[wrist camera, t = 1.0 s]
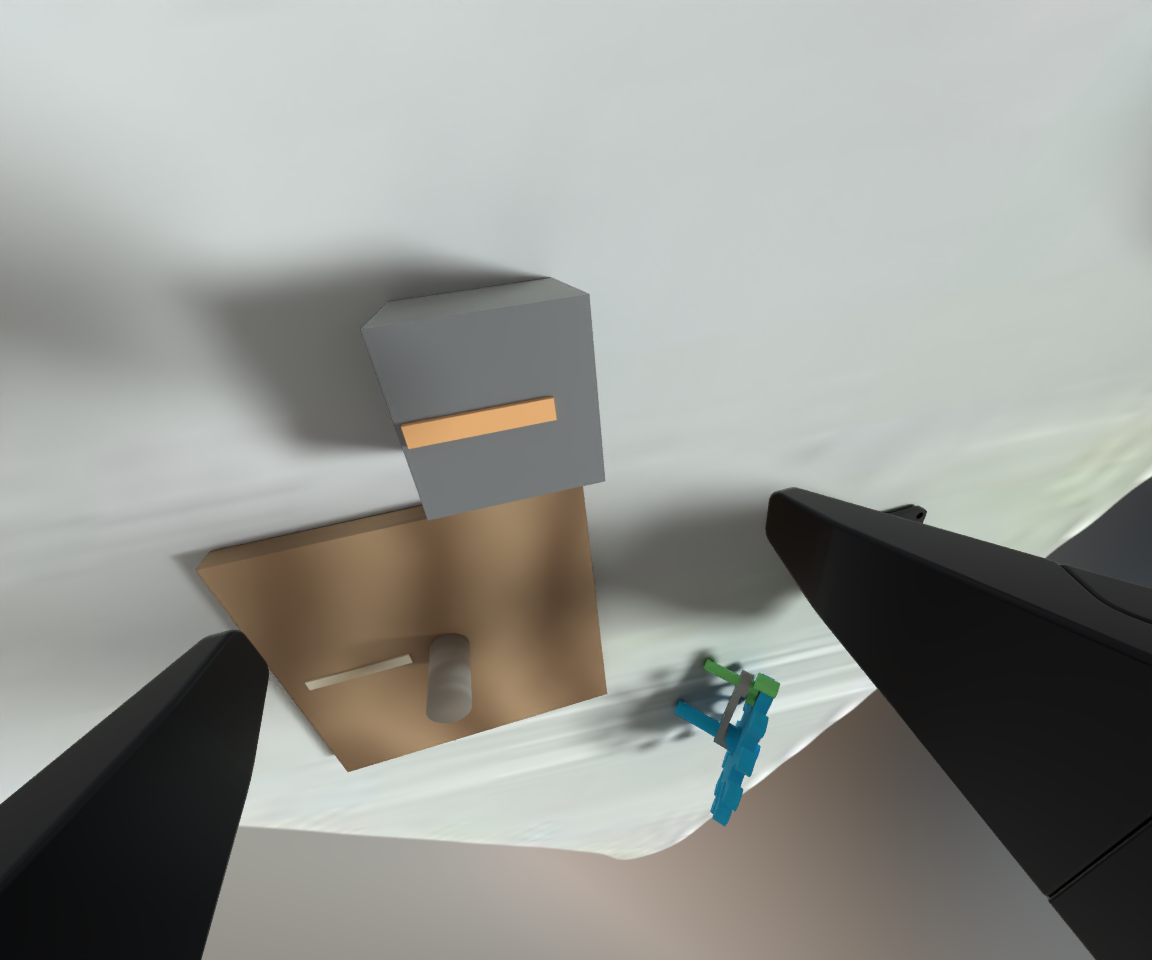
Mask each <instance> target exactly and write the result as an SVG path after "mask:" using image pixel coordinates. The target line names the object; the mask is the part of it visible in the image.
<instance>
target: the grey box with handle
mask: <svg viewBox="0 0 1152 960" xmlns="http://www.w3.org/2000/svg"><path fill="white" fill-rule="evenodd" d="M360 330H361V333H362V336H363V338H364V341H365V344H366V347H367V350H368V353H369V355H370V358H371V361H372V364H373V367H374V370H375V372H376V375H377V378H378V381H379V384H380V386H381V389H382V392H383V395H384V398H385V401H386V403H387V406H388V409H389V412H390V415H391V418H392V420H393V423H394V426H395V429H396V432H397V435H398V437H399V440H400V443H401V446H402V449H403V452H404V454H405V457H406V460H407V463H408V466H409V468H410V471H411V474H412V477H413V480H414V483H415V485H416V488H417V491H418V494H419V497H420V500H421V502H422V505H423V508H424V511H425V514H426V517H427V519H428V520H433V519H437V518H442V517H446V516H451V515H455V514H460V513H464V512H469V511H473V510H478V509H482V508H487V507H491V506H495V505H500V504H504V503H509V502H513V501H518V500H522V499H527V498H531V497H536V496H540V495H545V494H549V493H554V492H558V491H563V490H567V489H572V488H576V487H581V486H585V485H589V484H594V483H598V482H603V481H605V473H604V461H603V450H602V438H601V426H600V414H599V402H598V391H597V379H596V367H595V355H594V344H593V332H592V320H591V308H590V297H589V294H588V293H586V292H583V291H581V290H579V289H577V288H574V287H572V286H570V285H568V284H565V283H563V282H561V281H559V280H556V279H554V278H546V279H539V280H532V281H526V282H519V283H512V284H505V285H498V286H491V287H484V288H477V289H471V290H464V291H457V292H450V293H443V294H436V295H429V296H423V297H416V298H409V299H402V300H395V301H388V302H387V303H386V304H385V305H384V306H383V307H382V308H381V309H380V310H379V311H378V312H377V313H376V314H375V315H374V316H373V317H372V318H371V319H370V320H369V321H368V322H367V323H366V324H365V325H364V326H363V327H362V328H361V329H360Z"/></svg>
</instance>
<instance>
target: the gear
mask: <svg viewBox="0 0 1152 960" xmlns="http://www.w3.org/2000/svg"><path fill="white" fill-rule="evenodd" d="M703 669H705V670H707V671H709V672H711V673H713V674H714V675H716V676H718V677H720V678H722V679H724V680H726V681H728V682H730V683H731V684H733V685H735V689H734V691H733V693H732V696H731V698H730V700H729V703H728V705H727V707H726V710H725V712H724V714H723V717H722V719H721V721H720V723H719V722H718V721H716V720H714V719H712V718H711V717H709V716H707V715H705V714H704V713H702V712H700V711H698V710H697V709H695V708H693V707H691V706H690V705H688V704H686V703H684V702H683V701H681V700H679V703H678V705H677V708H676V710H675V714H677V715H678V716H680V717H682V718H683V719H685V720H687V721H688V722H690V723H692V724H694V725H695V726H697V727H699V728H700V729H702V730H704V731H705V732H707V733H709V734H711V735H712V736H714V742H715V743H717V744H719V745H720V746H722V747H724V748H725V749H727V752H726V754H725V757H724V761H723V764H722V767H723V771H722V773H721V775H720V777H719V779H718V782H717V784H716V788H715V792H714V795H715V796H716V797H715V799H714V802H713V805H712V808H711V813H712V814H713V819H714V820H716V821H717V822H719V823H720V824H722V825H723V826H726V824H727V823H728V821H729V819H730V816H731V812H732V810H734V811H736V809H737V807H738V805H739V802H740V799H741V797H742V793H743V789H742V788H741V784H742V781H743V778H744V775H747V776H748V777H750V776H751V774H752V771H753V768H754V765H755V762H756V759H757V757H758V754H759V751H760V745H758V742H759V741H760V739H761V738H763V736H764V734H765V732H766V728H767V724H768V718H769V717H767V716H766V714H767V711H768V709H769V707H770V705H771V703H772V701H773V698H775V697H776V695H777V693H778V690H779V686H780V683H778V682H777V681H775V680H774V679H772V678H770V677H768V676H766V675H764V674H761V673H759V674H758V676H757V678H756V680H755V681H754V680H752V679H753V675H752V674H750V673H748V672H746V671H744V670H742V672H741V675H738V674H736V673H734V672H732V671H730V670H728V669H726V668H724V667H722V666H720V665H718V664H717V663H715V662H713V661H711V660H709V659H707V661H706V663H705V666H704V668H703ZM746 695H747V697H746ZM740 697H743V698H745V697H746V700H745V704H744V707H743V711H744V714H743V716H742V719H741V721H737V723H736V726H734V725H732V724H730V723H729V722H730V720H731V718H732V715H733V713H734V711H735V709H736V706H737V704H738V702H739V699H740Z"/></svg>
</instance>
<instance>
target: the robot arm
mask: <svg viewBox="0 0 1152 960" xmlns="http://www.w3.org/2000/svg"><path fill="white" fill-rule="evenodd" d="M926 513H927V511H926V510H925V509H924V508H922V507H920V506H915V507H911V508H907V509H903V510H899V511H896V512H892V513H888V514H887V513H884V512H880V511H877V510H873V509H870V508H866V507H863V506H859V505H856V504H852V503H849V502H845V501H842V500H838V499H835V498H831V497H828V496H824V495H821V494H817V493H814V492H810V491H807V490H803V489H799V488H795V487H792V488H787V489H783V490H779V491H776V492H774V493H772V494H771V496H770V498H769V504H768V512H767V519H766V526H765V530H766V535H767V538H768V540H769V542H770V543H771V545H772V546H773V548H774V550H775V551H776V553H777V554H778V556H779V557H780V559H781V560H782V562H783V563H784V565H785V566H786V568H787V569H788V571H789V573H790V574H791V576H792V577H793V579H794V580H795V582H796V583H797V585H798V586H799V588H800V589H801V591H802V592H803V594H804V595H805V597H806V598H807V600H808V601H809V603H810V604H811V606H812V607H813V608H814V610H815V611H816V612H817V614H818V615H819V616H820V618H821V619H822V620H823V622H824V623H825V624H826V625H827V626H828V628H829V629H830V630H831V631H832V633H833V634H834V635H835V636H836V638H837V639H838V640H839V641H840V643H841V644H842V645H843V646H844V648H845V649H846V650H847V651H848V653H849V654H850V655H851V656H852V657H853V659H854V660H855V661H856V662H857V664H858V665H859V666H860V667H861V669H862V670H863V671H864V672H865V674H866V675H867V676H868V677H869V679H870V680H871V681H872V682H873V684H874V685H875V686H876V687H877V689H878V690H879V691H880V692H881V693H882V695H883V696H884V697H885V698H886V700H887V701H888V702H889V703H890V705H891V706H892V707H893V708H894V710H895V711H896V712H897V713H898V715H899V716H900V717H901V718H902V720H903V721H904V722H905V723H906V725H907V726H908V727H909V728H910V729H911V731H912V732H913V733H914V734H915V736H916V737H917V738H918V739H919V741H920V742H921V743H922V744H923V746H924V747H925V748H926V749H927V751H928V752H929V753H930V754H931V755H932V757H933V758H934V759H935V760H936V762H937V763H938V764H939V765H940V767H941V768H942V769H943V770H944V771H945V773H946V774H947V775H948V777H949V778H950V779H951V780H952V782H953V783H954V784H955V785H956V787H957V788H958V789H959V790H960V791H961V793H962V794H963V795H964V796H965V798H966V799H967V800H968V801H969V803H970V804H971V805H972V806H973V808H974V809H975V810H976V811H977V813H978V814H979V815H980V816H981V817H982V819H983V820H984V821H985V823H986V824H987V825H988V826H989V828H990V829H991V830H992V831H993V832H994V834H995V835H996V836H997V837H998V839H999V840H1000V841H1001V842H1002V844H1003V845H1004V846H1005V847H1006V849H1007V850H1008V851H1009V852H1010V854H1011V855H1012V856H1013V857H1014V859H1015V860H1016V861H1017V862H1018V863H1019V865H1020V866H1021V867H1022V868H1023V870H1024V871H1025V872H1026V873H1027V875H1028V876H1029V877H1030V878H1031V880H1032V881H1033V882H1034V883H1035V885H1036V886H1037V887H1038V888H1039V890H1040V891H1041V892H1042V893H1043V894H1044V895H1045V896H1047V899H1048V901H1049V903H1050V904H1051V905H1052V906H1053V907H1054V909H1055V910H1056V911H1057V913H1058V914H1059V915H1060V916H1061V918H1062V919H1063V920H1064V921H1065V922H1066V924H1067V925H1068V926H1069V927H1070V929H1071V930H1072V931H1073V932H1074V934H1075V935H1076V936H1077V937H1078V938H1079V940H1080V941H1081V942H1082V943H1083V945H1084V946H1085V947H1086V949H1087V950H1088V951H1089V952H1090V953H1091V955H1092V956H1093V957H1094V958H1095V960H1152V588H1149V587H1146V586H1142V585H1138V584H1135V583H1131V582H1127V581H1124V580H1120V579H1116V578H1113V577H1109V576H1106V575H1102V574H1098V573H1095V572H1091V571H1088V570H1084V569H1081V568H1077V567H1074V566H1070V565H1067V564H1060V565H1059V564H1058V563H1057V562H1055V561H1053V560H1049V559H1045V558H1042V557H1038V556H1035V555H1031V554H1028V553H1024V552H1021V551H1017V550H1014V549H1010V548H1007V547H1003V546H1000V545H996V544H993V543H989V542H986V541H982V540H979V539H975V538H972V537H968V536H965V535H961V534H958V533H954V532H951V531H947V530H943V529H940V528H936V527H933V526H929V525H926V524H923V521H924V519H925V516H926ZM268 679H269V669H268V665H267V663H266V661H265V659H264V658H263V657H262V655H261V654H260V653H259V652H258V650H257V649H256V648H255V646H254V645H253V644H252V643H251V641H250V640H249V639H248V637H247V636H246V635H245V634H244V633H243V632H241V631H239V630H229V631H225V632H221V633H217V634H213V635H210V636H207V637H205V638H203V639H202V640H200V641H199V642H198V643H197V644H196V645H194V646H193V647H192V648H191V649H189V650H188V651H187V652H186V653H185V654H183V655H182V656H181V657H180V658H178V659H177V660H176V661H175V662H174V663H172V664H171V665H170V666H169V667H167V668H166V669H165V670H164V671H163V672H161V673H160V674H159V675H158V676H156V677H155V678H154V679H153V680H152V681H150V682H149V683H148V684H147V685H145V686H144V687H143V688H142V689H141V690H139V691H138V692H137V693H136V694H134V695H133V696H132V697H131V698H130V699H128V700H127V701H126V702H125V703H123V704H122V705H121V706H120V707H119V708H117V709H116V710H115V711H114V712H112V713H111V714H110V715H109V716H108V717H106V718H105V719H104V720H103V721H101V722H100V723H99V724H98V725H97V726H95V727H94V728H93V729H92V730H90V731H89V732H88V733H87V734H86V735H84V736H83V737H82V738H81V739H79V740H78V741H77V742H76V743H75V744H73V745H72V746H71V747H70V748H68V749H67V750H66V751H65V752H64V753H62V754H61V755H60V756H59V757H57V758H56V759H55V760H54V761H53V762H51V763H50V764H49V765H48V766H46V767H45V768H44V769H43V770H42V771H40V772H39V773H38V774H37V775H35V776H34V777H33V778H32V779H31V780H29V781H28V782H27V783H26V784H24V785H23V786H22V787H21V788H20V789H18V790H17V791H16V792H15V793H13V794H12V795H11V796H10V797H9V798H7V799H6V800H5V801H4V802H2V803H1V804H0V960H201V959H202V955H203V951H204V948H205V945H206V941H207V937H208V934H209V930H210V927H211V923H212V919H213V915H214V912H215V909H216V905H217V901H218V898H219V894H220V891H221V886H222V883H223V880H224V876H225V872H226V869H227V865H228V861H229V858H230V855H231V851H232V847H233V844H234V840H235V837H236V833H237V829H238V826H239V822H240V819H241V815H242V811H243V808H244V804H245V801H246V797H247V793H248V789H249V785H250V781H251V776H252V772H253V767H254V762H255V756H256V750H257V744H258V738H259V732H260V727H261V721H262V715H263V709H264V703H265V697H266V691H267V685H268Z"/></svg>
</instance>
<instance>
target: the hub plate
mask: <svg viewBox="0 0 1152 960" xmlns="http://www.w3.org/2000/svg"><path fill="white" fill-rule="evenodd" d="M196 572H197V573H198V574H199V576H200V577H201V578H202V580H203V581H204V582H205V584H206V585H207V586H208V588H209V589H210V590H211V592H212V593H213V594H214V596H215V597H216V598H217V600H218V601H219V602H220V604H221V605H222V606H223V608H224V609H225V610H226V612H227V613H228V614H229V615H230V617H231V618H232V619H233V621H234V622H235V623H236V625H237V626H238V627H239V629H240V630H241V631H242V632H243V633H244V634H245V635H246V636H247V637H248V639H249V640H250V641H251V643H252V644H253V645H254V646H255V648H256V649H257V650H258V652H259V653H260V654H261V655H262V657H263V658H264V659H265V661H266V663H267V665H268V667H269V668H270V670H271V671H272V672H273V674H274V675H275V676H276V678H277V679H278V680H279V682H280V683H281V684H282V686H283V687H284V688H285V690H286V691H287V692H288V694H289V695H290V696H291V698H292V699H293V700H294V702H295V703H296V704H297V706H298V707H299V708H300V709H301V711H302V712H303V713H304V715H305V716H306V717H307V719H308V720H309V721H310V723H311V724H312V725H313V727H314V728H315V729H316V731H317V732H318V733H319V735H320V736H321V737H322V739H323V740H324V741H325V743H326V744H327V745H328V747H329V748H330V749H331V751H332V752H333V753H334V754H335V756H336V757H337V758H338V760H339V761H340V762H341V764H342V765H343V766H344V768H345V769H346V770H347V772H350V771H353V770H357V769H360V768H363V767H367V766H370V765H373V764H377V763H380V762H383V761H387V760H390V759H393V758H397V757H400V756H403V755H406V754H410V753H413V752H416V751H420V750H423V749H426V748H430V747H433V746H436V745H440V744H443V743H446V742H450V741H453V740H456V739H459V738H463V737H466V736H469V735H473V734H476V733H479V732H483V731H486V730H489V729H493V728H496V727H499V726H503V725H506V724H509V723H512V722H516V721H519V720H522V719H526V718H529V717H532V716H536V715H539V714H542V713H546V712H549V711H552V710H556V709H559V708H562V707H565V706H569V705H572V704H575V703H579V702H582V701H585V700H589V699H592V698H595V697H599V696H602V695H605V694H607V689H606V680H605V672H604V663H603V655H602V646H601V638H600V629H599V621H598V612H597V603H596V595H595V586H594V578H593V569H592V561H591V552H590V544H589V535H588V527H587V518H586V510H585V501H584V493H583V486H581V487H576V488H572V489H567V490H563V491H558V492H554V493H549V494H545V495H540V496H536V497H531V498H527V499H522V500H518V501H513V502H509V503H504V504H500V505H495V506H491V507H487V508H482V509H478V510H473V511H469V512H464V513H460V514H455V515H451V516H446V517H442V518H437V519H433V520H428V519H427V517H426V514H425V511H424V508H423V505H422V506H418V507H413V508H408V509H404V510H399V511H395V512H390V513H385V514H381V515H376V516H372V517H367V518H362V519H358V520H353V521H349V522H344V523H340V524H335V525H330V526H326V527H321V528H317V529H312V530H307V531H303V532H298V533H294V534H289V535H284V536H280V537H275V538H271V539H266V540H261V541H257V542H252V543H248V544H243V545H239V546H234V547H229V548H225V549H220V550H216V551H211V552H209V554H208V555H207V556H206V557H205V559H204V560H203V561H202V563H201V564H200V565H199V567H198V568H197V569H196Z"/></svg>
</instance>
